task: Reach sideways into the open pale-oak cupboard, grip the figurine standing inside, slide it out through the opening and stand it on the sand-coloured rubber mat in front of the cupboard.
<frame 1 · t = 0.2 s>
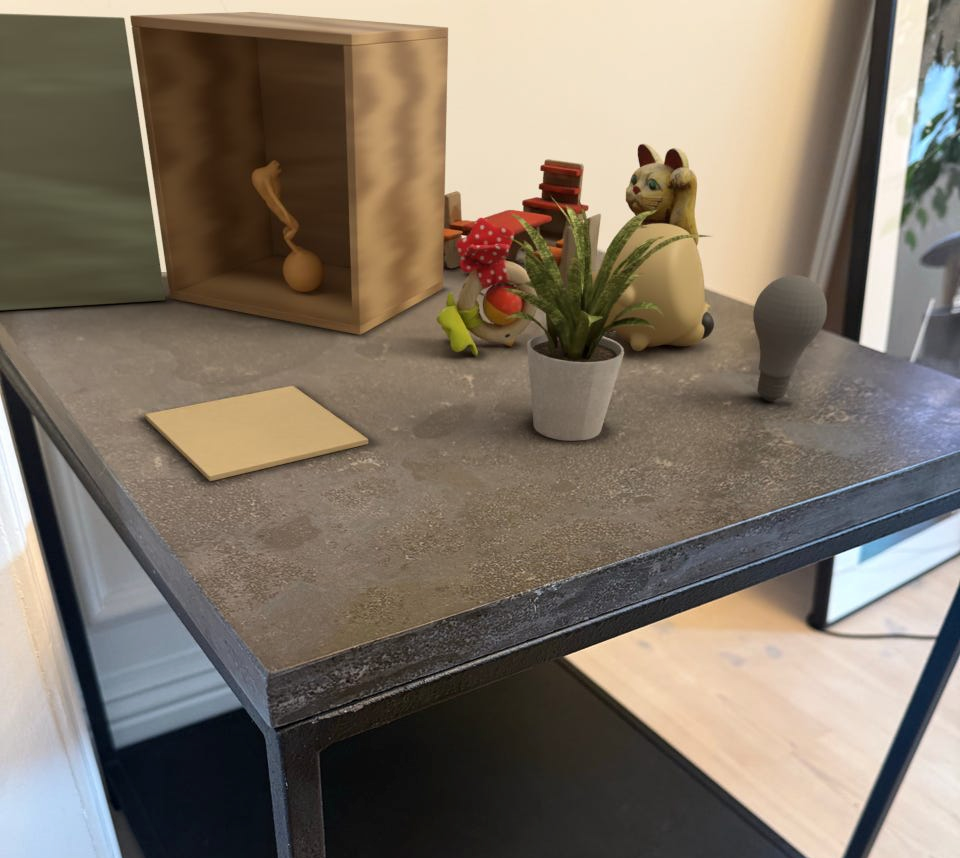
house plant: (583, 428, 73), on the table
light bulb: (768, 402, 79), on the table
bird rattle: (483, 348, 87), on the table
dark green flat panel: (18, 165, 85), point 12 cm above the table, hinge at 135.0°
dollhouse furniture set: (521, 264, 112), on the table
decorative figurine: (653, 303, 101), on the table
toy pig: (646, 345, 90), on the table
cupboard: (311, 293, 98), on the table
mat: (255, 431, 69), on the table
figurine: (295, 294, 95), point 1 cm above the table, touching cupboard
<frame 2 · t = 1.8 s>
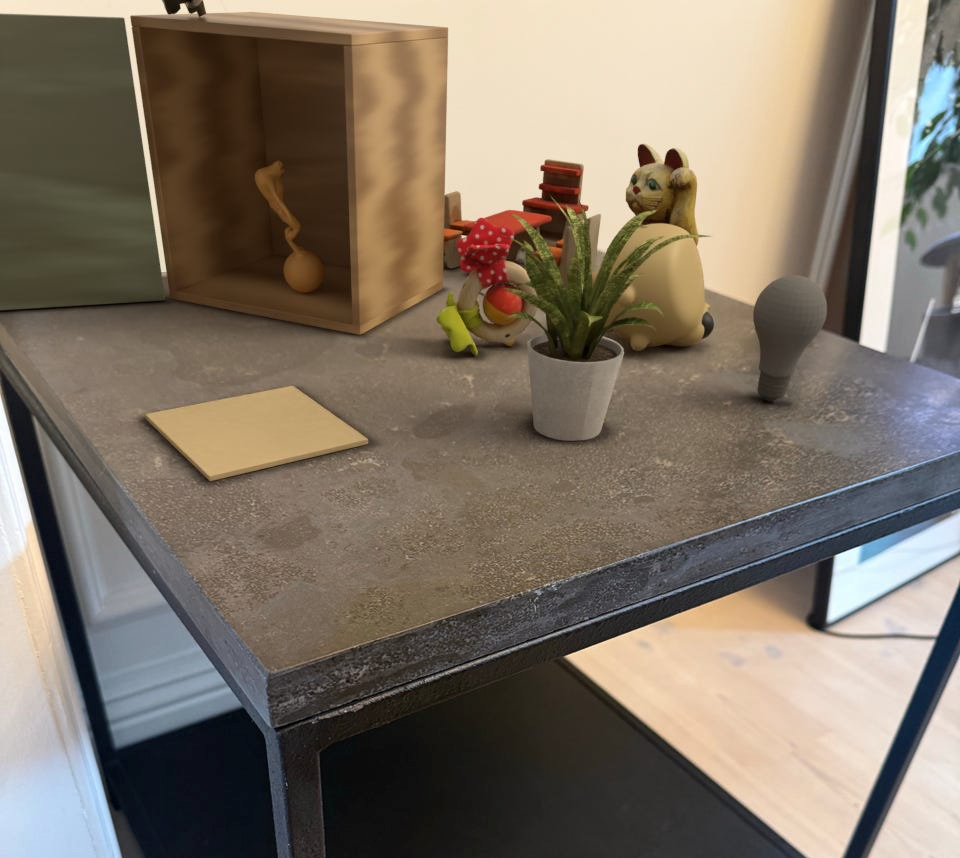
nothing on the table moved.
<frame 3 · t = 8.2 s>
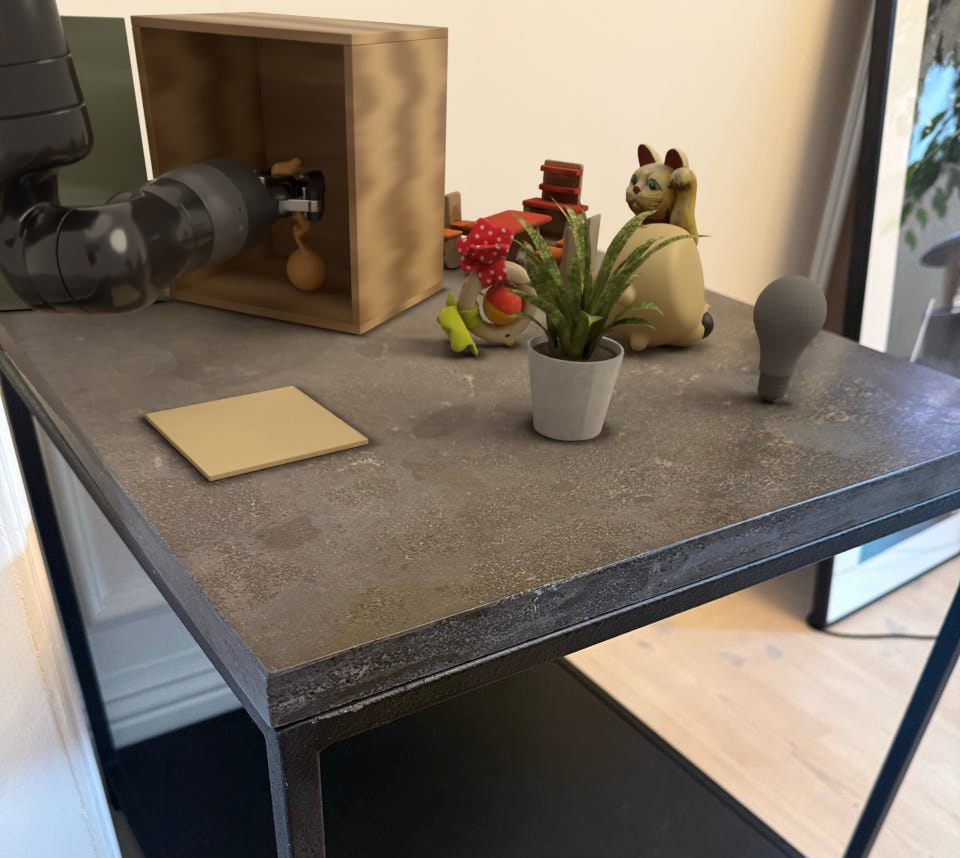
hand: (300, 180, 92), 11 cm above the table, tool horizontal, fingers closed on figurine, 3 cm apart
figurine: (295, 290, 95), point 1 cm above the table, touching cupboard, gripper
everything else where it was.
when the fingers open (11 cm above the table, at t = 15.7 s): figurine stays where it is, resting on mat.
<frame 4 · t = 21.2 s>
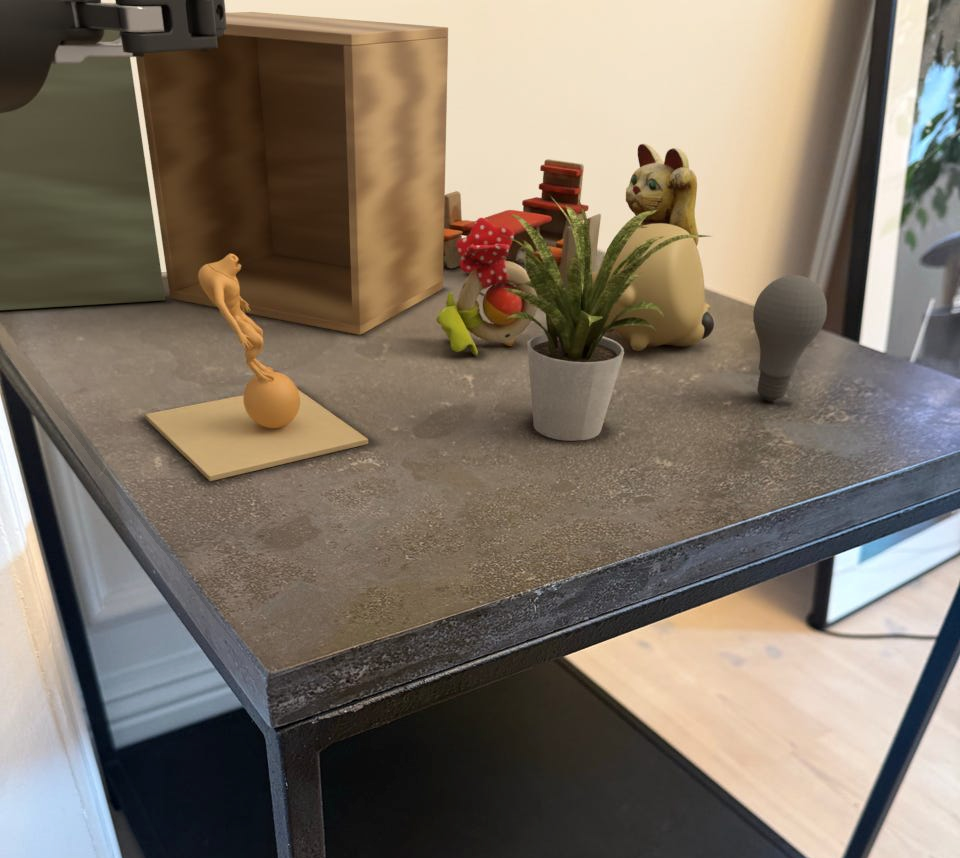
hand: (143, 5, 49), 26 cm above the table, tool horizontal, fingers open, 8 cm apart
figurine: (260, 429, 69), resting on mat
everything else where it was.
at the end: figurine inside the target area on the mat (0.4 cm from its centre), point 0.2 cm above the mat's base; figurine touching mat; figurine tilted 0° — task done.
